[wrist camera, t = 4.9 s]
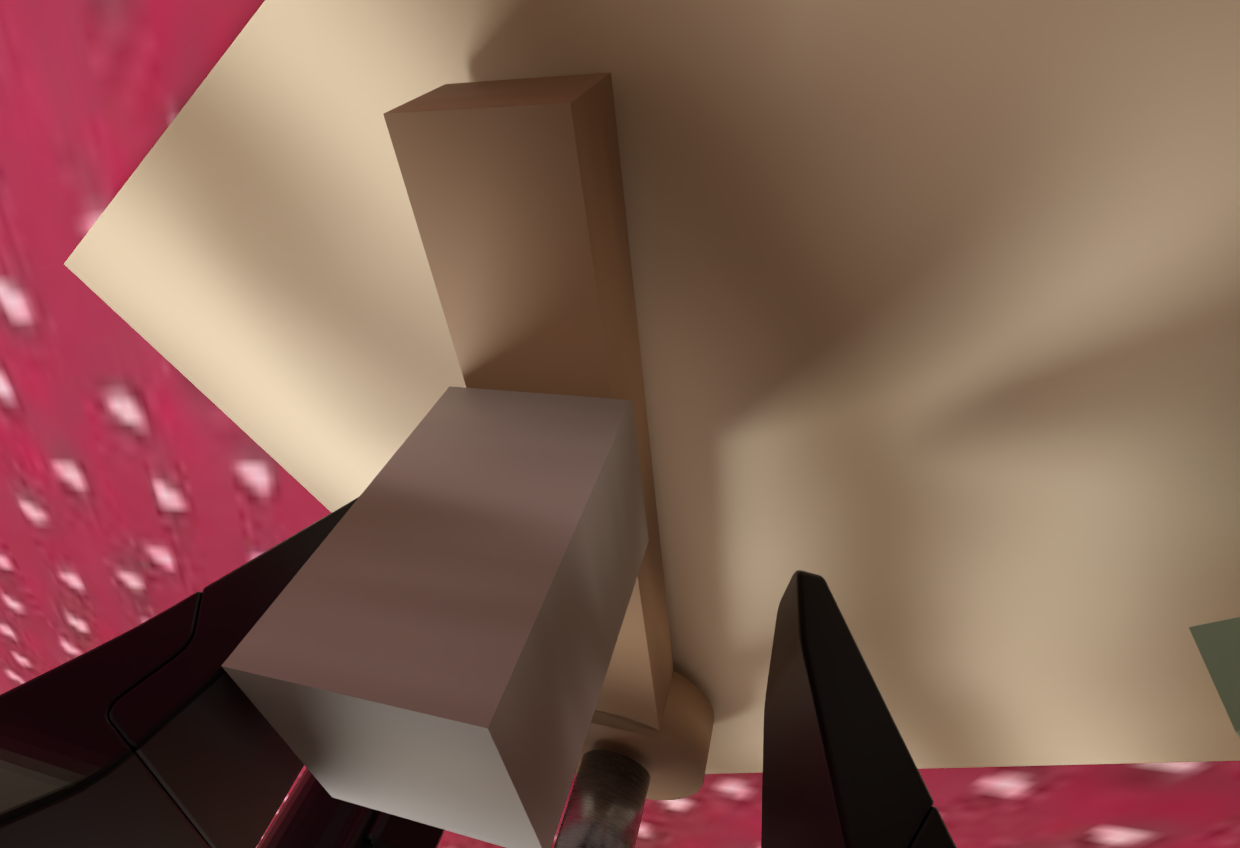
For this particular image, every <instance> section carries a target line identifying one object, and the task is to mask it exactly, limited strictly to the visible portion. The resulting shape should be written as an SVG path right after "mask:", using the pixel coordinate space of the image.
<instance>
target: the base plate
mask: <svg viewBox="0 0 1240 848" xmlns="http://www.w3.org/2000/svg"><path fill="white" fill-rule="evenodd" d="M610 72H611V77H612V87H613V96H614V106H615V115H616V125H617V135H618V144H619V154H620V163H621V173H622V182H623V192H624V201H625V211H626V221H627V230H628V240H629V249H630V259H631V268H632V278H633V287H634V297H635V307H636V316H637V326H638V335H639V345H640V354H641V364H642V373H643V383H644V393H645V402H646V412H647V421H648V431H649V440H650V450H651V459H652V469H653V479H654V488H655V498H656V507H657V517H658V526H659V536H660V546H661V555H662V565H663V574H664V584H665V593H666V603H667V612H668V622H669V632H670V641H671V651H672V660H673V670H674V671H675V672H677V673H679V674H680V675H682V676H683V677H685V678H686V679H688V680H689V681H690V682H692V683H693V684H694V685H695V686H697V687H698V688H699V689H700V690H701V691H702V692H703V694H704V695H705V696H706V697H707V699H708V700H709V702H710V704H711V706H712V708H713V711H714V724H713V730H712V736H711V741H710V747H709V753H708V759H707V765H706V771H705V774H720V773H760V772H763V730H764V706H765V697H766V689H767V682H768V674H769V667H770V660H771V653H772V646H773V639H774V631H775V624H776V617H777V611H778V607H779V604H780V601H781V598H782V596H783V594H784V592H785V590H786V588H787V586H788V584H789V582H790V580H791V578H792V576H793V574H794V573H795V572H796V571H797V570H802V571H806V572H810V573H814V574H817V575H820V576H822V577H823V578H824V579H825V581H826V583H827V585H828V587H829V589H830V591H831V593H832V595H833V597H834V599H835V601H836V603H837V605H838V607H839V609H840V611H841V613H842V615H843V617H844V619H845V621H846V623H847V626H848V628H849V630H850V632H851V634H852V636H853V638H854V640H855V642H856V644H857V646H858V648H859V650H860V652H861V654H862V656H863V658H864V660H865V662H866V664H867V666H868V669H869V671H870V673H871V675H872V677H873V679H874V681H875V683H876V685H877V687H878V689H879V691H880V693H881V695H882V697H883V699H884V701H885V703H886V705H887V707H888V709H889V711H890V714H891V716H892V718H893V720H894V722H895V724H896V726H897V728H898V730H899V732H900V734H901V736H902V738H903V740H904V742H905V744H906V746H907V748H908V750H909V752H910V754H911V757H912V759H913V761H914V763H915V765H916V767H917V769H921V768H961V767H1001V766H1041V765H1081V764H1121V763H1162V762H1202V761H1240V737H1239V735H1238V734H1237V733H1236V732H1235V729H1234V727H1233V725H1232V723H1231V720H1230V718H1229V716H1228V714H1227V712H1226V709H1225V707H1224V705H1223V703H1222V700H1221V698H1220V696H1219V694H1218V691H1217V689H1216V687H1215V685H1214V683H1213V680H1212V678H1211V676H1210V674H1209V671H1208V669H1207V667H1206V665H1205V663H1204V660H1203V658H1202V656H1201V654H1200V651H1199V649H1198V647H1197V645H1196V642H1195V640H1194V638H1193V636H1192V634H1191V631H1190V629H1189V627H1193V626H1197V625H1202V624H1207V623H1212V622H1217V621H1222V620H1227V619H1232V618H1237V617H1240V0H265V1H264V2H263V4H262V5H261V6H260V8H259V9H258V10H257V12H256V13H255V14H254V15H253V17H252V18H251V19H250V21H249V22H248V23H247V25H246V26H245V27H244V29H243V30H242V31H241V32H240V34H239V35H238V36H237V38H236V39H235V40H234V42H233V43H232V44H231V46H230V47H229V48H228V50H227V51H226V52H225V53H224V55H223V56H222V57H221V59H220V60H219V61H218V63H217V64H216V65H215V67H214V68H213V69H212V70H211V72H210V73H209V74H208V76H207V77H206V78H205V80H204V81H203V82H202V84H201V85H200V86H199V87H198V89H197V90H196V91H195V93H194V94H193V95H192V97H191V98H190V99H189V101H188V102H187V103H186V105H185V106H184V107H183V108H182V110H181V111H180V112H179V114H178V115H177V116H176V118H175V119H174V120H173V122H172V123H171V124H170V125H169V127H168V128H167V129H166V131H165V132H164V133H163V135H162V136H161V137H160V139H159V140H158V141H157V142H156V144H155V145H154V146H153V148H152V149H151V150H150V152H149V153H148V154H147V156H146V157H145V158H144V160H143V161H142V162H141V163H140V165H139V166H138V167H137V169H136V170H135V171H134V173H133V174H132V175H131V177H130V178H129V179H128V180H127V182H126V183H125V184H124V186H123V187H122V188H121V190H120V191H119V192H118V194H117V195H116V196H115V197H114V199H113V200H112V201H111V203H110V204H109V205H108V207H107V208H106V209H105V211H104V212H103V213H102V215H101V216H100V217H99V218H98V220H97V221H96V222H95V224H94V225H93V226H92V228H91V229H90V230H89V232H88V233H87V234H86V235H85V237H84V238H83V239H82V241H81V242H80V243H79V245H78V246H77V247H76V249H75V250H74V251H73V252H72V254H71V255H70V256H69V258H68V259H67V260H66V262H65V263H64V265H65V266H67V267H68V268H69V269H70V270H71V271H72V272H73V273H74V274H75V275H76V276H77V277H78V278H79V279H81V280H82V281H83V282H84V283H85V284H86V285H87V286H88V287H89V288H90V289H91V290H92V291H93V292H95V293H96V294H97V295H98V296H99V297H100V298H101V299H102V300H103V301H104V302H105V303H106V304H107V305H109V306H110V307H111V308H112V309H113V310H114V311H115V312H116V313H117V314H118V315H119V316H120V317H121V318H123V319H124V320H125V321H126V322H127V323H128V324H129V325H130V326H131V327H132V328H133V329H134V330H135V331H137V332H138V333H139V334H140V335H141V336H142V337H143V338H144V339H145V340H146V341H147V342H148V343H149V344H151V345H152V346H153V347H154V348H155V349H156V350H157V351H158V352H159V353H160V354H161V355H162V356H163V357H165V358H166V359H167V360H168V361H169V362H170V363H171V364H172V365H173V366H174V367H175V368H176V369H177V370H179V371H180V372H181V373H182V374H183V375H184V376H185V377H186V378H187V379H188V380H189V381H190V382H191V383H193V384H194V385H195V386H196V387H197V388H198V389H199V390H200V391H201V392H202V393H203V394H204V395H205V396H207V397H208V398H209V399H210V400H211V401H212V402H213V403H214V404H215V405H216V406H217V407H218V408H219V409H221V410H222V411H223V412H224V413H225V414H226V415H227V416H228V417H229V418H230V419H231V420H232V421H233V422H235V423H236V424H237V425H238V426H239V427H240V428H241V429H242V430H243V431H244V432H245V433H246V434H247V435H249V436H250V437H251V438H252V439H253V440H254V441H255V442H256V443H257V444H258V445H259V446H260V447H261V448H263V449H264V450H265V451H266V452H267V453H268V454H269V455H270V456H271V457H272V458H273V459H274V460H275V461H277V462H278V463H279V464H280V465H281V466H282V467H283V468H284V469H285V470H286V471H287V472H288V473H289V474H291V475H292V476H293V477H294V478H295V479H296V480H297V481H298V482H299V483H300V484H301V485H302V486H303V487H305V488H306V489H307V490H308V491H309V492H310V493H311V494H312V495H313V496H314V497H315V498H316V499H317V500H319V501H320V502H321V503H322V504H323V505H324V506H325V507H326V508H327V509H328V510H329V511H330V512H331V513H332V512H334V511H336V510H337V509H339V508H341V507H342V506H344V505H346V504H348V503H349V502H351V501H353V500H354V499H356V498H358V497H359V496H360V495H361V494H362V493H363V492H364V491H365V489H366V488H367V487H368V486H369V484H370V483H371V482H372V481H373V480H374V478H375V477H376V476H377V475H378V473H379V472H380V471H381V470H382V469H383V467H384V466H385V465H386V464H387V462H388V461H389V460H390V459H391V457H392V456H393V455H394V454H395V453H396V451H397V450H398V449H399V448H400V446H401V445H402V444H403V443H404V442H405V440H406V439H407V438H408V437H409V435H410V434H411V433H412V432H413V431H414V429H415V428H416V427H417V426H418V424H419V423H420V422H421V421H422V420H423V418H424V417H425V416H426V415H427V413H428V412H429V411H430V410H431V409H432V407H433V406H434V405H435V404H436V402H437V401H438V400H439V399H440V397H441V396H442V395H443V394H444V393H445V391H446V390H447V389H448V388H449V386H451V387H464V388H466V385H465V381H464V378H463V375H462V371H461V368H460V365H459V362H458V358H457V355H456V352H455V348H454V345H453V342H452V338H451V335H450V332H449V329H448V325H447V322H446V319H445V315H444V312H443V309H442V306H441V302H440V299H439V296H438V292H437V289H436V286H435V283H434V279H433V276H432V273H431V269H430V266H429V263H428V260H427V256H426V253H425V250H424V246H423V243H422V240H421V237H420V233H419V230H418V227H417V223H416V220H415V217H414V213H413V210H412V207H411V204H410V200H409V197H408V194H407V190H406V187H405V184H404V181H403V177H402V174H401V171H400V167H399V164H398V161H397V158H396V154H395V151H394V148H393V144H392V141H391V138H390V135H389V131H388V128H387V125H386V121H385V118H384V115H383V114H384V113H386V112H388V111H390V110H392V109H394V108H396V107H398V106H401V105H403V104H405V103H407V102H409V101H411V100H413V99H415V98H417V97H419V96H421V95H424V94H426V93H428V92H430V91H432V90H434V89H436V88H438V87H440V86H442V85H445V84H453V83H467V82H482V81H496V80H510V79H525V78H539V77H553V76H567V75H582V74H596V73H610Z"/></svg>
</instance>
